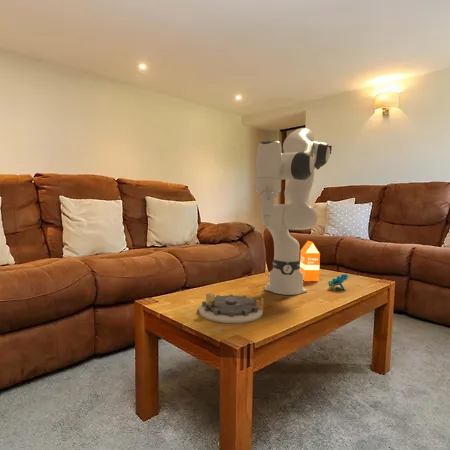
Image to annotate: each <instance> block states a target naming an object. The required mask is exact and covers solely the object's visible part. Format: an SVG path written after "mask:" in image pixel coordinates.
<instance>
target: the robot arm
mask: <svg viewBox="0 0 450 450" xmlns="http://www.w3.org/2000/svg"><path fill="white" fill-rule="evenodd" d="M314 139H315V135H314V133H313V132H312V130H311V129H308V128H305V127H301V128H297V129H295V130H294V131H292V132H290V133H289V135H288V136H287V137H286V138H285V139H284V142H283V145H282V144H281V141H279V140H277V139H276V140H264V141H263V140H262V141H260V142H259V143H258V145H257V146H258V147H257V150H256V156H255V157H256V160H255V166H256V167H255V168H256V176H255V184H254V185H255V186H254V187H255V188H254V189H255V192H256V193H258V197H259V198H260V206H261V212H260V220H261V222H262V224H263V226H264V227H265V228H267V230H268V231H269V232H270V235H271V236H272V240H273V249H274V250H273V251H274V252H273V253H274V257H273V259H272V267H273V268H272V269H271V270H270V271H269V273H268V276H267V278H268V279H267V280H268V282H267V284H265V286H264V290H265V291H267V292H271V293H273V294H277V295H278V294H279V295H287V296H289V295H290V296H291V295H292V296H294V295H300V294H302V293H303V294H304V293H307V292H308V289H307V288H306V287H304V281H303V273H302V272H301V271H300V253H301V249H300V247H301V246H300V243H299V240H297V239H296V238H294V237H293V236H292V235H291V234H290V231H289V230H297V231H298V230H299V231H303V230H312V229H313V228H314V227H315V226H316V224H317V222H318V212H317V210H316V209H315V208H314V207H313V206H312V205H311V203H310V202H309V197H310V192H311V190H312V187H313V183H314V177H315V169H316V170H320V169H321V167H323V166H325V165H326V164H327V162H328V160H329V158H330V155H331V148H330V145H329V144H328V143H326V142H322V141H320V142H319V141H315V140H314ZM283 180H288V182H287V184H286V187H285V189H284V193H283V194H284V197H285V200H286V201H288V202H289V203H288V204H287V203H285V204H284V203H275V198H277V197H278V193H281V192H282V181H283Z"/></svg>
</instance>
